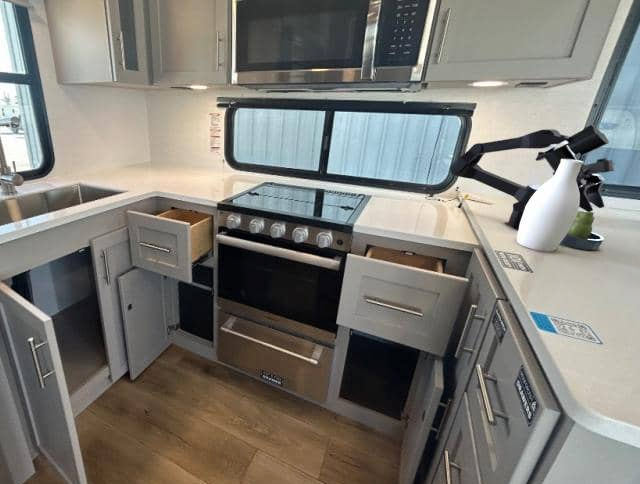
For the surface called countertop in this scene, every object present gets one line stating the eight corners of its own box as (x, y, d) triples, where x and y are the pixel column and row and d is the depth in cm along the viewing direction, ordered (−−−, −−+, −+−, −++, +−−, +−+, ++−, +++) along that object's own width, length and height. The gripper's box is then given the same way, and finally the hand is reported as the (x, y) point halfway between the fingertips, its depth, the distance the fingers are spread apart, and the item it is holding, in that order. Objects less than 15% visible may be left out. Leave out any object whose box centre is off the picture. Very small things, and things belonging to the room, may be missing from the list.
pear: (571, 244, 99) (586, 213, 95) (556, 237, 104) (570, 207, 100) (589, 245, 99) (605, 214, 95) (573, 238, 104) (588, 208, 100)
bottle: (508, 235, 106) (540, 155, 96) (553, 243, 101) (591, 160, 91) (516, 247, 96) (552, 160, 86) (565, 257, 92) (609, 166, 82)
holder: (565, 248, 98) (571, 237, 96) (540, 234, 108) (545, 224, 106) (608, 253, 96) (614, 242, 95) (579, 238, 106) (584, 228, 105)
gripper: (586, 149, 90) (623, 199, 85) (609, 147, 98) (644, 192, 94) (539, 172, 99) (571, 218, 94) (564, 168, 108) (594, 210, 103)
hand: (596, 209), depth 96 cm, fingers open, 9 cm apart
